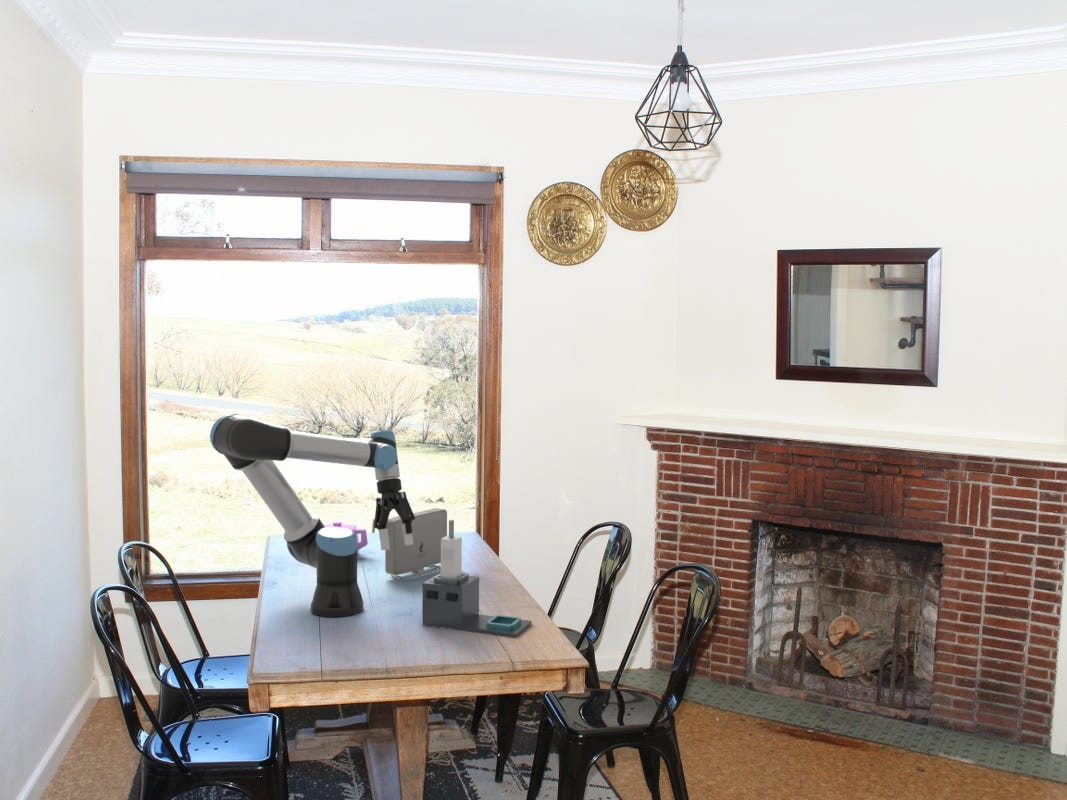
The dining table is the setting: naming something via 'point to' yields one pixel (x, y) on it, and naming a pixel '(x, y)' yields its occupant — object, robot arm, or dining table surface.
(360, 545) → the teakettle
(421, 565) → the network device
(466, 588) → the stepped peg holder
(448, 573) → the plug
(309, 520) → the robot arm
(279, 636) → the dining table surface
